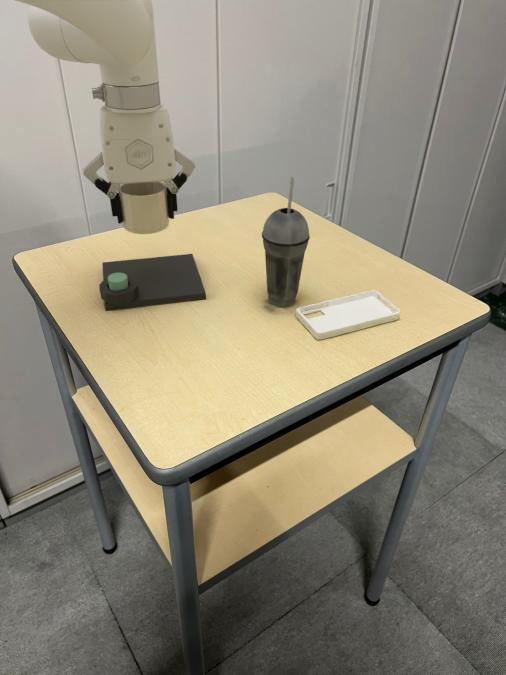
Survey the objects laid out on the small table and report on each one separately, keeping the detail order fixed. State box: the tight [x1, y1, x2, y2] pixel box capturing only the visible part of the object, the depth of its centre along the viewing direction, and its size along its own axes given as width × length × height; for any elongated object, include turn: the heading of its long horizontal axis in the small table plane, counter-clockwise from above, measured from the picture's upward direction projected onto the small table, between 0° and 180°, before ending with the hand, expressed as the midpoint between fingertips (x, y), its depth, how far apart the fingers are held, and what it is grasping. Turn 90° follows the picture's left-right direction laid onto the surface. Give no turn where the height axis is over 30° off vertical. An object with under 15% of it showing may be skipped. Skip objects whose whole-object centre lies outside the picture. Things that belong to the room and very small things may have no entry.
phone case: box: [295, 289, 402, 341], centre depth 81 cm, size 7×1×15 cm
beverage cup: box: [261, 176, 311, 309], centre depth 79 cm, size 7×7×20 cm
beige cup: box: [117, 181, 170, 235], centre depth 80 cm, size 7×7×6 cm
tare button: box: [108, 273, 128, 291], centre depth 81 cm, size 3×3×2 cm
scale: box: [98, 253, 207, 312], centre depth 87 cm, size 16×14×3 cm
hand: (145, 217), depth 81 cm, fingers closed on beige cup, 7 cm apart
